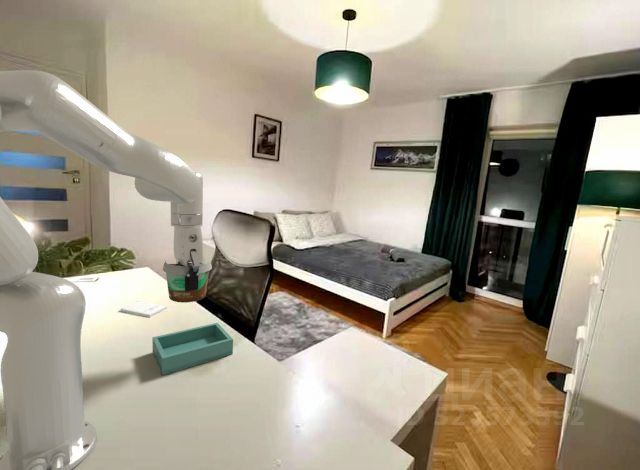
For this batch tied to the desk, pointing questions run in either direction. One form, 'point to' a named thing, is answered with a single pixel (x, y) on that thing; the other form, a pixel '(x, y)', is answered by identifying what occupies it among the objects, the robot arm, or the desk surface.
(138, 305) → the external hard drive
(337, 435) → the desk surface
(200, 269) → the food container
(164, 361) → the bin
